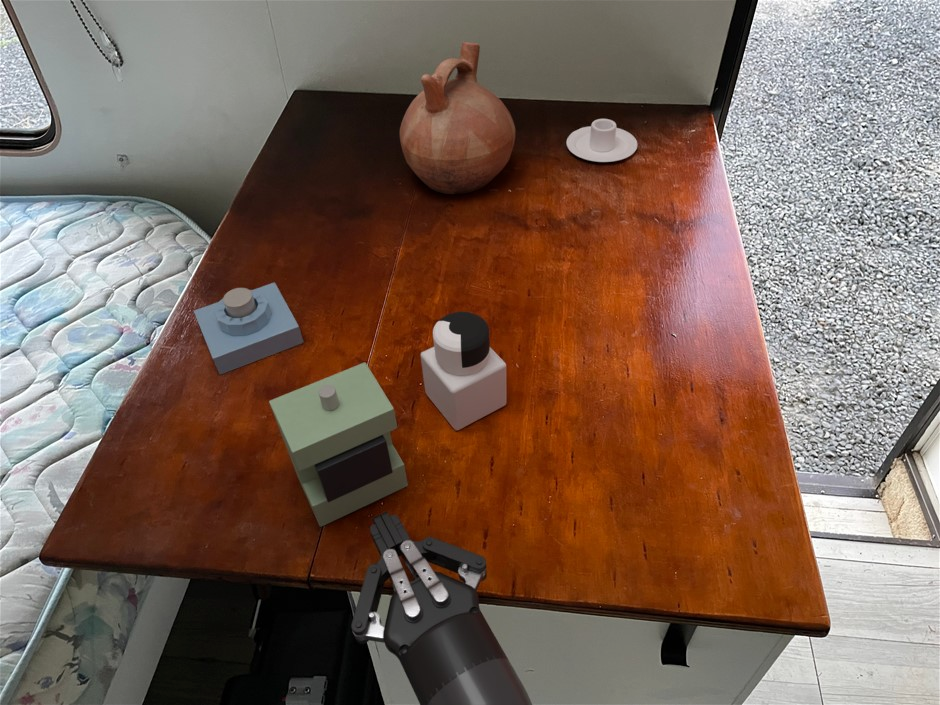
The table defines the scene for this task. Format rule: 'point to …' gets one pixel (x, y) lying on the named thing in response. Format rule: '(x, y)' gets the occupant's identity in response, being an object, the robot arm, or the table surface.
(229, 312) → the short grey cylinder plug
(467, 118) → the jug
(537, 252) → the table surface
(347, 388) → the green block with peg
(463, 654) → the robot arm
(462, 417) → the medicine bottle
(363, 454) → the paddle
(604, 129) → the candle holder
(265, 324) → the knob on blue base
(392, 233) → the table surface
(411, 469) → the table surface
